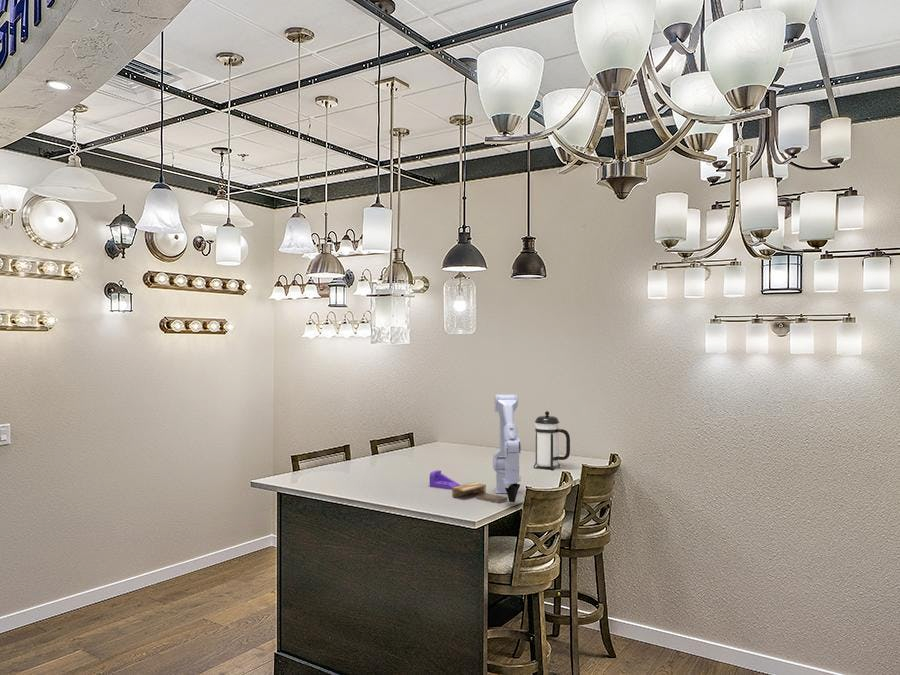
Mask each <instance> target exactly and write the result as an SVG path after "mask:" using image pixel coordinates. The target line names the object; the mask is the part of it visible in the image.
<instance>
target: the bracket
mask: <svg viewBox="0 0 900 675" xmlns="http://www.w3.org/2000/svg"><path fill="white" fill-rule="evenodd" d="M460 485H461V484H460V483H458V482H457V481H454V480H453V479H452V478H450V477H448V476H446V475H445V474H443V473H442V470H439V469H436V470H434V471H431V472H430V473H429V487H430V488H436V489H441V490H442V489H443V490H449V491H450V490H451V491H452V487H455V486H460Z"/></svg>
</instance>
